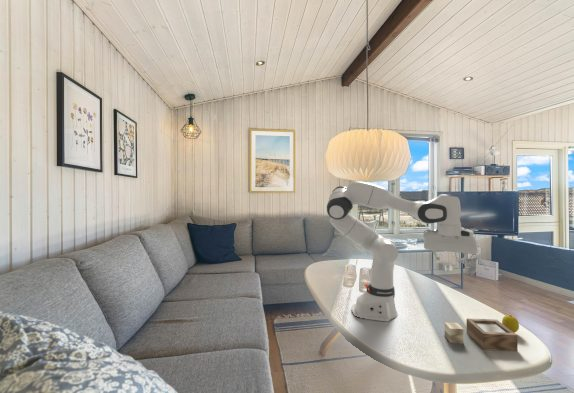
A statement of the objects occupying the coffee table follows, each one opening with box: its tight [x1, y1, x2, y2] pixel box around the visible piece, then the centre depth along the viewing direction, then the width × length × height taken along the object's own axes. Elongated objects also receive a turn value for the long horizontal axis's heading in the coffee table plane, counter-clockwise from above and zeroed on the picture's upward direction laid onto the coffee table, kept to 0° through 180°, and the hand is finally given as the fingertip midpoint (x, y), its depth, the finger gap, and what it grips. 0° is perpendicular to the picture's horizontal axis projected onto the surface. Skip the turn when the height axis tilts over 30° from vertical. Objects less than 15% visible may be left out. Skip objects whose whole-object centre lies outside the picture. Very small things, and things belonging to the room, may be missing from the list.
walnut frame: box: [466, 318, 518, 352], centre depth 106 cm, size 12×12×6 cm
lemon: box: [501, 314, 520, 333], centre depth 112 cm, size 6×6×8 cm
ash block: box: [444, 322, 465, 344], centre depth 108 cm, size 5×5×6 cm
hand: (449, 261), depth 115 cm, fingers open, 8 cm apart
